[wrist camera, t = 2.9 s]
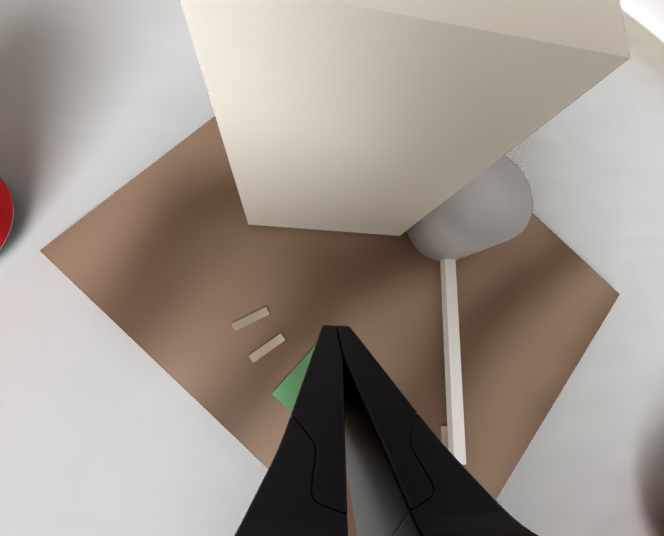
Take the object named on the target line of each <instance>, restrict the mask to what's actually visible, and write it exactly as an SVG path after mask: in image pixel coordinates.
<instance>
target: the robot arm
mask: <svg viewBox="0 0 664 536" xmlns="http://www.w3.org/2000/svg"><path fill="white" fill-rule="evenodd" d="M346 472H347V477H348V483H349V489H350V495H351V501H352V507H353V513H354V519H355V525H356V531H357V536H538V535H536V534H535V533H533V532H531V531H530V530H529V529H527V528H526V527H524V526H523V525H522V524H521V523H519V522H518V521H517V520H515V519H514V518H513V517H512V516H511V515H510V514H509V513H508V512H507V511H506V510H505V509H504V508H503V507H502V506H501V505H500V504H499V503H498V502H497V501H496V500H495V499H494V498H493V497H492V496H491V495H490V494H489V493H488V492H487V491H486V490H485V489H484V487H483V486H482V485H481V484H480V483H479V482H478V481H477V480H476V479H475V478H474V477H473V476H472V475H471V474H470V473H469V472H468V470H467V469H466V468H465V467H464V466H463V465H462V464H461V463H460V462H459V461H458V460H457V459H456V458H455V457H454V455H453V454H452V453H451V452H450V451H449V450H448V449H447V448H446V447H445V445H444V444H443V443H442V442H441V441H440V440H439V438H438V437H437V436H436V435H435V434H434V432H433V431H432V430H431V429H430V428H429V426H428V425H427V424H426V423H425V421H424V420H423V419H422V417H421V416H420V415H419V414H417V411H416V410H415V409H414V407H413V406H412V405H411V404H410V402H409V401H408V400H407V399H406V397H405V396H404V395H403V393H402V392H401V391H400V390H399V388H398V387H397V386H396V385H395V383H394V382H393V381H392V379H391V378H390V377H389V376H388V374H387V373H386V372H385V371H384V369H383V368H382V367H381V365H380V364H379V363H378V362H377V360H376V359H375V358H374V357H373V355H372V354H371V353H370V351H369V350H368V349H367V348H366V346H365V345H364V344H363V342H362V341H361V340H360V339H359V337H358V336H357V335H356V334H355V332H354V331H353V330H352V328H351V327H350V326H347V325H337V326H335V325H323V326H322V328H321V331H320V334H319V336H318V339H317V342H316V345H315V348H314V351H313V353H312V356H311V359H310V362H309V365H308V368H307V370H306V373H305V376H304V379H303V382H302V385H301V388H300V390H299V393H298V396H297V399H296V402H295V405H294V407H293V410H292V413H291V417H290V418H289V421H288V424H287V427H286V430H285V432H284V435H283V437H282V440H281V443H280V445H279V448H278V450H277V452H276V454H275V456H274V458H273V461H272V463H271V465H270V467H269V469H268V471H267V473H266V475H265V477H264V479H263V481H262V483H261V485H260V487H259V489H258V491H257V493H256V495H255V497H254V499H253V501H252V503H251V505H250V507H249V509H248V511H247V513H246V515H245V517H244V519H243V520H242V522H241V524H240V526H239V528H238V530H237V532H236V534H235V536H348V521H347V484H346Z"/></svg>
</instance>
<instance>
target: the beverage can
mask: <svg viewBox="0 0 664 536" xmlns="http://www.w3.org/2000/svg"><path fill="white" fill-rule="evenodd" d="M13 217H14V208H13V201H12V197H11V194H10V192H9V190H8V188H7V186H6V185H5V183H4V182H3V180H2V179H1V178H0V249H1V248H2V246H3V245H4V243H5V241H6V239H7V237H8V235H9V233H10V230H11V227H12V223H13Z"/></svg>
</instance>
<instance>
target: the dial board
mask: <svg viewBox="0 0 664 536" xmlns="http://www.w3.org/2000/svg"><path fill="white" fill-rule="evenodd" d="M40 251H41V252H42V253H43V254H44V255H45V256H46V257H47V258H48V259H49V260H50V261H51V262H52V263H53V264H54V265H55V266H56V267H57V268H58V269H60V270H61V271H62V272H63V273H64V274H65V275H66V276H67V277H68V278H69V279H70V280H71V281H72V282H73V283H74V284H75V285H76V286H77V287H78V288H79V289H80V290H82V291H83V292H84V293H85V294H86V295H87V296H88V297H89V298H90V299H91V300H92V301H93V302H94V303H95V304H96V305H97V306H98V307H99V308H100V309H101V310H102V311H104V312H105V313H106V314H107V315H108V316H109V317H110V318H111V319H112V320H113V321H114V322H115V323H116V324H117V325H118V326H119V327H120V328H121V329H122V330H123V331H124V332H125V333H127V334H128V335H129V336H130V337H131V338H132V339H133V340H134V341H135V342H136V343H137V344H138V345H139V346H140V347H141V348H142V349H143V350H144V351H145V352H146V353H147V354H149V355H150V356H151V357H152V358H153V359H154V360H155V361H156V362H157V363H158V364H159V365H160V366H161V367H162V368H163V369H164V370H165V371H166V372H167V373H168V374H169V375H171V376H172V377H173V378H174V379H175V380H176V381H177V382H178V383H179V384H180V385H181V386H182V387H183V388H184V389H185V390H186V391H187V392H188V393H189V394H190V395H191V396H193V397H194V398H195V399H196V400H197V401H198V402H199V403H200V404H201V405H202V406H203V407H204V408H205V409H206V410H207V411H208V412H209V413H210V414H211V415H212V416H213V417H215V418H216V419H217V420H218V421H219V422H220V423H221V424H222V425H223V426H224V427H225V428H226V429H227V430H228V431H229V432H230V433H231V434H232V435H233V436H234V437H235V438H236V439H238V440H239V441H240V442H241V443H242V444H243V445H244V446H245V447H246V448H247V449H248V450H249V451H250V452H251V453H252V454H253V455H254V456H255V457H256V458H257V459H258V460H260V461H261V462H262V463H263V464H264V465H265V466H266V467H267V468H268V469H269V467H270V465H271V463H272V461H273V458H274V456H275V454H276V452H277V450H278V448H279V445H280V443H281V440H282V437H283V435H284V432H285V430H286V427H287V424H288V421H289V418H290V417H291V413H292V410H293V407H294V405H295V402H296V399H297V396H298V393H299V390H300V388H301V385H302V382H303V379H304V376H305V373H306V370H307V368H308V365H309V362H310V359H311V356H312V353H313V351H314V348H315V345H316V342H317V339H318V336H319V334H320V331H321V328H322V326H323V325H335V326H337V325H347V326H350V327H351V328H352V330H353V331H354V332H355V334H356V335H357V336H358V337H359V339H360V340H361V341H362V342H363V344H364V345H365V346H366V348H367V349H368V350H369V351H370V353H371V354H372V355H373V357H374V358H375V359H376V360H377V362H378V363H379V364H380V365H381V367H382V368H383V369H384V371H385V372H386V373H387V374H388V376H389V377H390V378H391V379H392V381H393V382H394V383H395V385H396V386H397V387H398V388H399V390H400V391H401V392H402V393H403V395H404V396H405V397H406V399H407V400H408V401H409V402H410V404H411V405H412V406H413V407H414V409H415V410H416V411H417V414H419V415H420V416H421V417H422V419H423V420H424V421H425V423H426V424H427V425H428V426H429V428H430V429H431V430H432V431H433V432H434V434H435V435H436V436H437V437H438V438H439V440H440V441H441V442H442V443H443V444H444V445H445V447H446V448H447V449H448V431H447V408H446V384H445V361H444V338H443V315H442V291H441V268H440V261H435V260H432V259H430V258H428V257H426V256H424V255H423V254H422V253H420V252H419V251H418V250H417V249H416V248H415V247H414V245H413V244H412V242H411V241H410V239H409V237H408V235H407V232H406V231H405V232H404V233H403V234H401V235H400V236H394V235H381V234H367V233H354V232H341V231H327V230H314V229H301V228H288V227H274V226H261V225H248V222H247V218H246V215H245V212H244V209H243V205H242V202H241V199H240V195H239V192H238V189H237V186H236V182H235V179H234V176H233V173H232V169H231V166H230V163H229V159H228V156H227V153H226V150H225V146H224V143H223V140H222V137H221V133H220V130H219V127H218V124H217V120H216V117H213V118H212V119H211V120H209V121H208V122H207V123H205V124H204V125H203V126H202V127H200V128H199V129H198V130H196V131H195V132H194V133H192V134H191V135H190V136H189V137H187V138H186V139H185V140H183V141H182V142H181V143H179V144H178V145H177V146H175V147H174V148H173V149H172V150H170V151H169V152H168V153H166V154H165V155H164V156H162V157H161V158H160V159H159V160H157V161H156V162H155V163H153V164H152V165H151V166H149V167H148V168H147V169H146V170H144V171H143V172H142V173H140V174H139V175H138V176H136V177H135V178H134V179H132V180H131V181H130V182H129V183H127V184H126V185H125V186H123V187H122V188H121V189H119V190H118V191H117V192H116V193H114V194H113V195H112V196H110V197H109V198H108V199H106V200H105V201H104V202H102V203H101V204H100V205H99V206H97V207H96V208H95V209H93V210H92V211H91V212H89V213H88V214H87V215H86V216H84V217H83V218H82V219H80V220H79V221H78V222H76V223H75V224H74V225H73V226H71V227H70V228H69V229H67V230H66V231H65V232H63V233H62V234H61V235H59V236H58V237H57V238H56V239H54V240H53V241H52V242H50V243H49V244H48V245H46V246H45V247H44V248H43V249H41V250H40ZM456 278H457V297H458V316H459V335H460V354H461V373H462V392H463V411H464V430H465V449H466V465H463V466H464V467H465V468H466V469H467V470H468V472H469V473H470V474H471V475H472V476H473V477H474V478H475V479H476V480H477V481H478V482H479V483H480V484H481V485H482V486H483V487H484V489H485V490H486V491H487V492H488V493H489V494H490V495H491V496H492V497H493V498H494V499H495V500H496V498H497V496H498V495H499V493H500V491H501V490H502V488H503V486H504V485H505V483H506V481H507V480H508V478H509V476H510V475H511V473H512V471H513V470H514V468H515V467H516V465H517V463H518V462H519V460H520V458H521V457H522V455H523V453H524V452H525V450H526V448H527V447H528V445H529V443H530V442H531V440H532V438H533V437H534V435H535V433H536V432H537V430H538V428H539V427H540V425H541V423H542V422H543V420H544V419H545V417H546V415H547V414H548V412H549V410H550V409H551V407H552V405H553V404H554V402H555V400H556V399H557V397H558V395H559V394H560V392H561V390H562V389H563V387H564V385H565V384H566V382H567V380H568V379H569V377H570V376H571V374H572V372H573V371H574V369H575V367H576V366H577V364H578V362H579V361H580V359H581V357H582V356H583V354H584V352H585V351H586V349H587V347H588V346H589V344H590V342H591V341H592V339H593V337H594V336H595V334H596V333H597V331H598V329H599V328H600V326H601V324H602V323H603V321H604V319H605V318H606V316H607V314H608V313H609V311H610V309H611V308H612V306H613V304H614V303H615V301H616V299H617V298H618V296H619V293H618V292H617V291H616V290H614V289H613V288H612V287H611V286H610V285H609V284H608V283H607V282H606V281H605V280H604V279H603V278H602V277H600V276H599V275H598V274H597V273H596V272H595V271H594V270H593V269H592V268H591V267H590V266H589V265H588V264H586V263H585V262H584V261H583V260H582V259H581V258H580V257H579V256H578V255H577V254H576V253H575V252H574V251H573V250H571V249H570V248H569V247H568V246H567V245H566V244H565V243H564V242H563V241H562V240H561V239H560V238H559V237H557V236H556V235H555V234H554V233H553V232H552V231H551V230H550V229H549V228H548V227H547V226H546V225H545V224H543V223H542V222H541V221H540V220H539V219H538V218H537V217H536V216H535V215H534V214H533V213H532V214H531V217H530V220H529V222H528V224H527V226H526V227H525V229H524V230H523V231H522V232H521V233H520V234H519V235H517V236H516V237H514V238H513V239H510V240H508V241H505V242H503V243H500V244H498V245H495V246H492V247H490V248H487V249H485V250H482V251H479V252H477V253H474V254H472V255H469V256H466V257H464V258H461V259H459V260H456ZM346 484H347V521H348V536H357V531H356V525H355V519H354V513H353V507H352V501H351V495H350V489H349V483H348V477H347V472H346Z"/></svg>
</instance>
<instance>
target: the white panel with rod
mask: <svg viewBox="0 0 664 536" xmlns="http://www.w3.org/2000/svg"><path fill="white" fill-rule="evenodd" d="M180 3H181V6H182V9H183V12H184V16H185V19H186V22H187V25H188V29H189V32H190V35H191V38H192V42H193V45H194V48H195V52H196V55H197V58H198V61H199V65H200V68H201V71H202V74H203V78H204V81H205V84H206V88H207V91H208V94H209V97H210V101H211V104H212V107H213V110H214V114H215V117H216V120H217V124H218V127H219V130H220V133H221V137H222V140H223V143H224V146H225V150H226V153H227V156H228V159H229V163H230V166H231V169H232V173H233V176H234V179H235V182H236V186H237V189H238V192H239V195H240V199H241V202H242V205H243V209H244V212H245V215H246V218H247V222H248V225H261V226H274V227H288V228H301V229H314V230H327V231H341V232H354V233H367V234H381V235H394V236H400V235H401V234H403V233H404V232H405V231H406V232H407V235H408V237H409V239H410V241H411V242H412V244H413V245H414V247H415V248H416V249H417V250H418V251H419V252H420V253H422V254H423V255H424V256H426V257H428V258H430V259H432V260H435V261H440V268H441V291H442V315H443V338H444V361H445V384H446V408H447V431H448V450H449V451H450V452H451V453H452V454H453V455H454V457H455V458H456V459H457V460H458V461H459V462H460V463H461V464H462V465H466V449H465V430H464V411H463V392H462V373H461V354H460V335H459V316H458V297H457V278H456V260H459V259H461V258H464V257H466V256H469V255H472V254H474V253H477V252H479V251H482V250H485V249H487V248H490V247H492V246H495V245H498V244H500V243H503V242H505V241H508V240H510V239H513V238H514V237H516V236H517V235H519V234H520V233H521V232H522V231H523V230H524V229H525V227H526V226H527V224H528V222H529V220H530V217H531V214H532V207H533V199H532V193H531V189H530V186H529V184H528V181H527V179H526V177H525V176H524V174H523V173H522V171H521V170H520V169H519V167H518V166H517V165H516V164H515V163H514V162H513V161H511V160H510V159H509V158H507V157H506V156H504V155H505V154H506V153H508V152H509V151H510V150H512V149H513V148H514V147H516V146H517V145H518V144H519V143H521V142H522V141H523V140H525V139H526V138H527V137H528V136H530V135H531V134H532V133H534V132H535V131H536V130H538V129H539V128H540V127H541V126H543V125H544V124H545V123H547V122H548V121H549V120H551V119H552V118H553V117H554V116H556V115H557V114H558V113H560V112H561V111H562V110H563V109H565V108H566V107H567V106H569V105H570V104H571V103H573V102H574V101H575V100H576V99H578V98H579V97H580V96H582V95H583V94H584V93H585V92H587V91H588V90H589V89H591V88H592V87H593V86H595V85H596V84H597V83H598V82H600V81H601V80H602V79H604V78H605V77H606V76H608V75H609V74H610V73H611V72H613V71H614V70H615V69H617V68H618V67H619V66H620V65H622V64H623V63H624V62H626V61H627V60H628V59H630V54H629V49H628V43H627V38H626V33H625V27H624V22H623V17H622V12H621V6H620V1H619V0H180Z"/></svg>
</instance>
